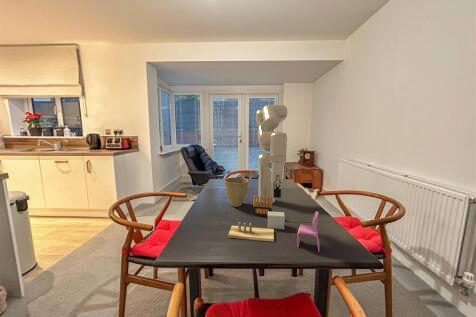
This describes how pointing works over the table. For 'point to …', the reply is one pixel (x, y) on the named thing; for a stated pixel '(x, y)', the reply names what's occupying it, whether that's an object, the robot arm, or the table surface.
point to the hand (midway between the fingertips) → (276, 194)
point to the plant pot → (236, 190)
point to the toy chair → (309, 229)
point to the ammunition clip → (262, 205)
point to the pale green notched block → (276, 220)
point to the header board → (251, 233)
